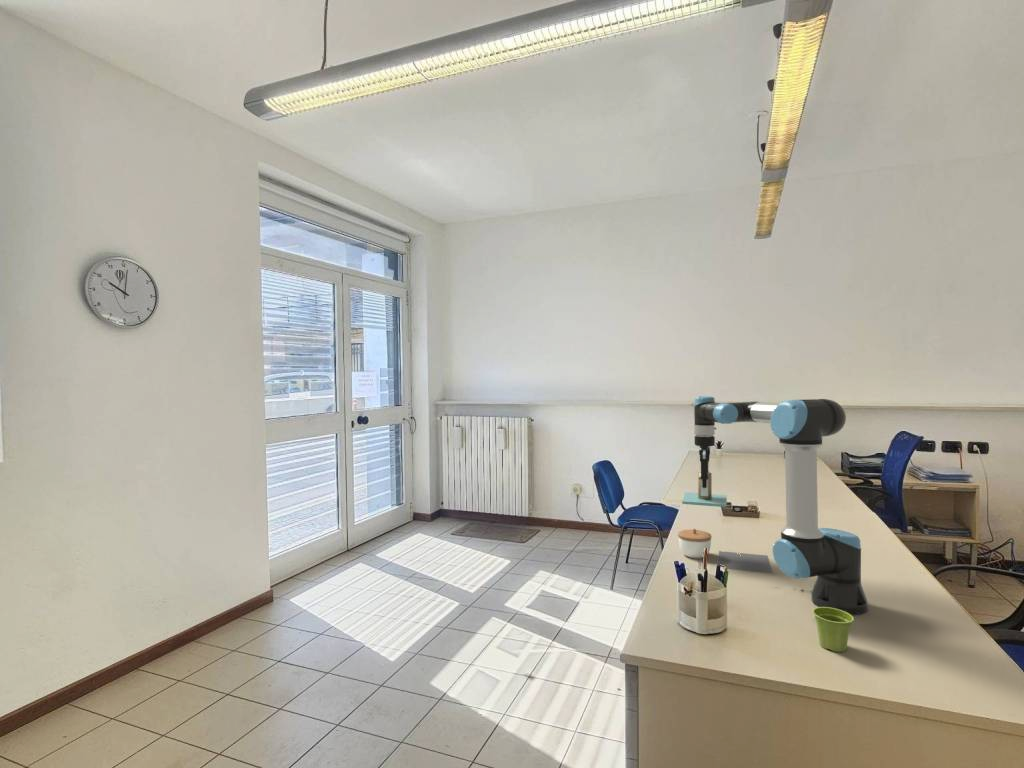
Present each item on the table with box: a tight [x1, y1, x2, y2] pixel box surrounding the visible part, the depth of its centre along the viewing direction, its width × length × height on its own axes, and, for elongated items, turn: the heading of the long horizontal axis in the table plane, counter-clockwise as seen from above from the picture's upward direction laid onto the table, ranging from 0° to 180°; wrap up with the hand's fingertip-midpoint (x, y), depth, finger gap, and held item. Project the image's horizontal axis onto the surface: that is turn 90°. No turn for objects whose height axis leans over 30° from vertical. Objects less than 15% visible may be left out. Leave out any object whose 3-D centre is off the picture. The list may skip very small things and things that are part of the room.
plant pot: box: [812, 606, 855, 653], centre depth 144 cm, size 9×9×9 cm
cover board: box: [681, 471, 728, 508], centre depth 214 cm, size 16×16×11 cm
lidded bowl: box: [677, 528, 712, 559], centre depth 216 cm, size 13×13×11 cm
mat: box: [718, 550, 773, 574], centre depth 208 cm, size 20×18×1 cm
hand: (704, 494), depth 215 cm, fingers closed on cover board, 5 cm apart
